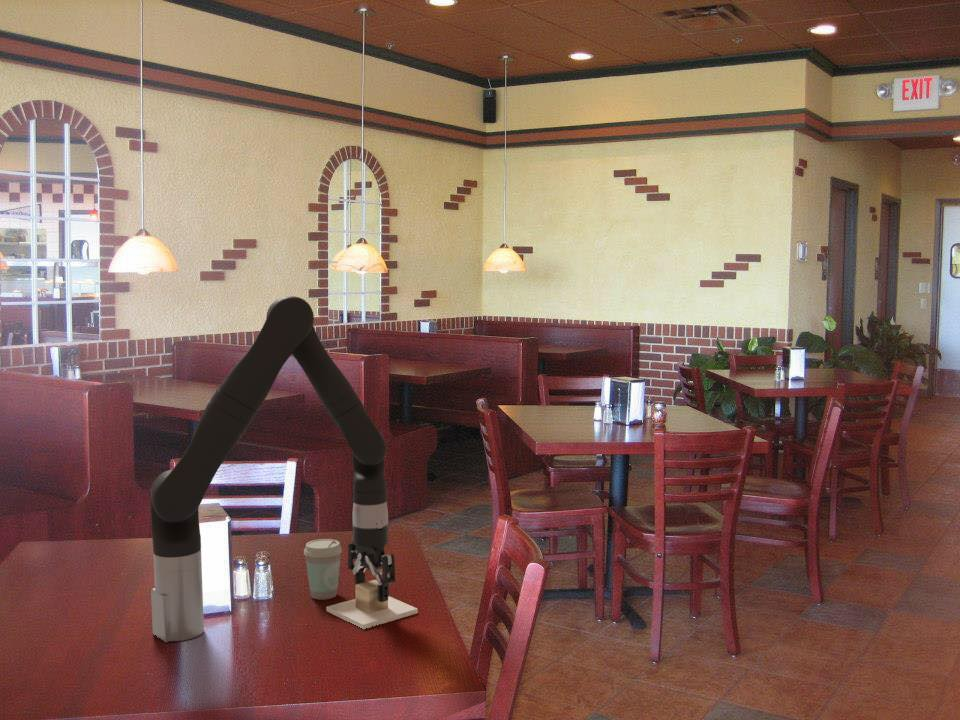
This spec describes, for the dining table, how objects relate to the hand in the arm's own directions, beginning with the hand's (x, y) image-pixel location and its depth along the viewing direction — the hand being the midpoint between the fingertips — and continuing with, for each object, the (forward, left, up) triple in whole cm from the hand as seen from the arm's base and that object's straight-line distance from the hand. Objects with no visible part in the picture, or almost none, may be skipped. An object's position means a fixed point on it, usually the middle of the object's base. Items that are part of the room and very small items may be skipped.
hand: (371, 595), depth 211 cm
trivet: (0, 0, -4) cm, 4 cm away
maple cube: (0, 0, -3) cm, 3 cm away
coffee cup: (-2, +16, -4) cm, 17 cm away
